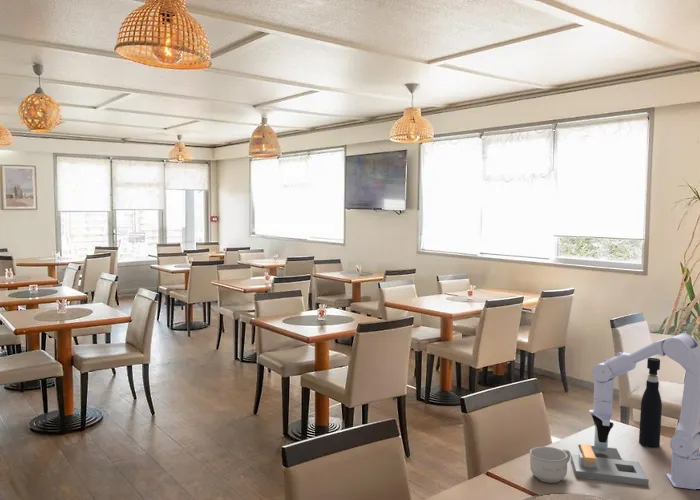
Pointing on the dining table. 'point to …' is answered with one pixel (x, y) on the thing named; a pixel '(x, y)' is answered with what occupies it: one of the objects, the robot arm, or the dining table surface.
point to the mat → (606, 453)
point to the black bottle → (651, 408)
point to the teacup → (549, 463)
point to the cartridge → (599, 445)
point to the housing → (609, 470)
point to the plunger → (587, 453)
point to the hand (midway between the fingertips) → (601, 439)
